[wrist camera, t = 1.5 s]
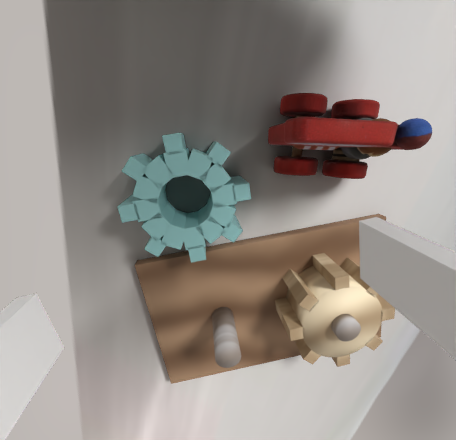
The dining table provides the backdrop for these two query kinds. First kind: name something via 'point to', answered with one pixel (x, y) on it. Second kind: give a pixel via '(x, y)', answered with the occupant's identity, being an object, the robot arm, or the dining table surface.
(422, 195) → the dining table surface
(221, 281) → the gear board
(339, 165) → the toy fire truck
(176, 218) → the teal gear
